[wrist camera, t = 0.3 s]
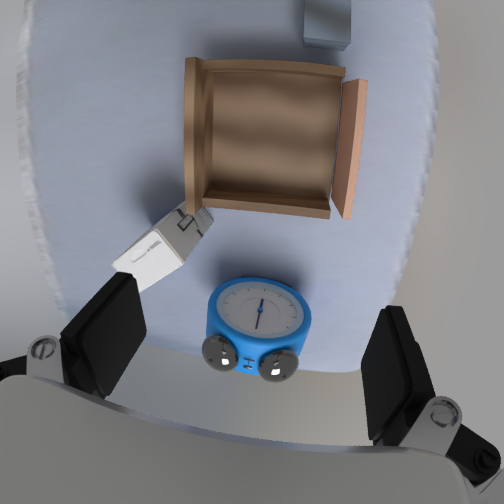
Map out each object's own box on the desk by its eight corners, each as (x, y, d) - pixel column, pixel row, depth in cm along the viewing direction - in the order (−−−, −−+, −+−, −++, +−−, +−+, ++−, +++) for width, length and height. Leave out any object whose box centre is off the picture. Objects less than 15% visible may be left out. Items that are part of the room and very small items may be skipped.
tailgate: (341, 83, 28) (359, 78, 21) (348, 84, 28) (367, 80, 21) (330, 196, 34) (342, 218, 28) (336, 196, 34) (350, 219, 28)
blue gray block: (304, -4, 24) (304, -19, 20) (344, 1, 24) (350, -13, 19) (303, 46, 28) (303, 37, 23) (343, 51, 27) (350, 43, 23)
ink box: (172, 251, 43) (136, 297, 33) (151, 225, 42) (108, 265, 31) (216, 221, 40) (185, 266, 30) (193, 192, 38) (154, 227, 28)
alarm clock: (312, 285, 42) (312, 365, 29) (302, 317, 45) (297, 397, 32) (222, 267, 43) (189, 339, 30) (219, 300, 46) (189, 374, 33)
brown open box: (211, 67, 30) (185, 57, 23) (339, 73, 28) (351, 64, 21) (209, 190, 38) (185, 213, 30) (327, 201, 36) (333, 229, 29)
